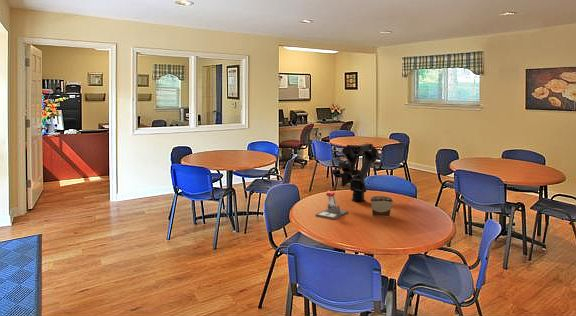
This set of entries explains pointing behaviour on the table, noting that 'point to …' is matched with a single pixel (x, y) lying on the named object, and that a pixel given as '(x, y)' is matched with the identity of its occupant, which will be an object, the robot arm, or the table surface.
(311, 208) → the table surface
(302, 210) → the table surface
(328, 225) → the table surface
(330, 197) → the lever
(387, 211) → the food container
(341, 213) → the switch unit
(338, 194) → the table surface
